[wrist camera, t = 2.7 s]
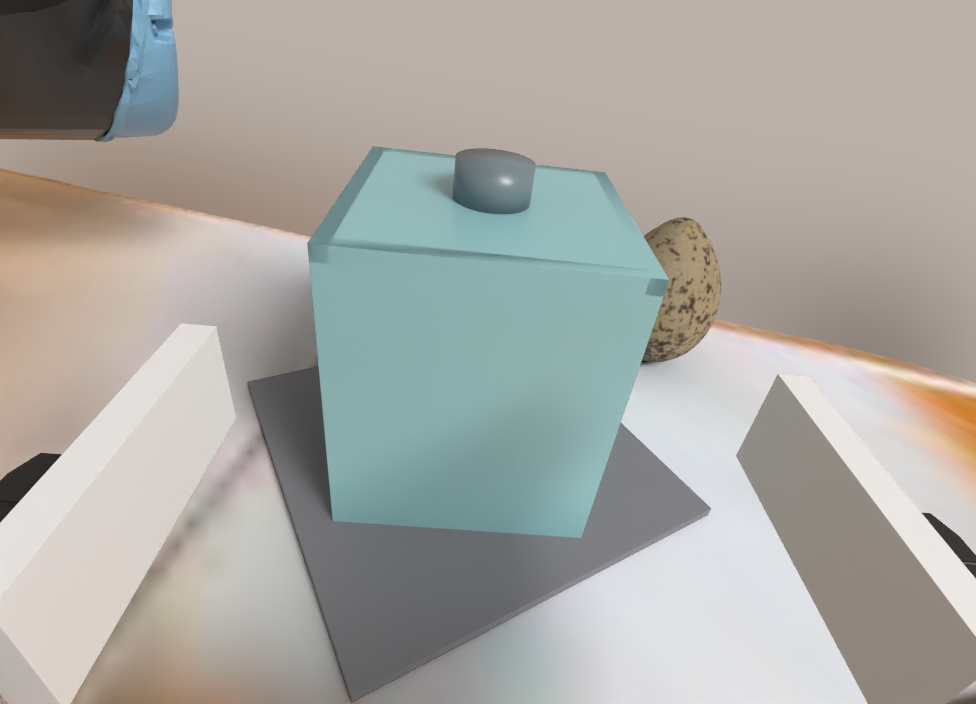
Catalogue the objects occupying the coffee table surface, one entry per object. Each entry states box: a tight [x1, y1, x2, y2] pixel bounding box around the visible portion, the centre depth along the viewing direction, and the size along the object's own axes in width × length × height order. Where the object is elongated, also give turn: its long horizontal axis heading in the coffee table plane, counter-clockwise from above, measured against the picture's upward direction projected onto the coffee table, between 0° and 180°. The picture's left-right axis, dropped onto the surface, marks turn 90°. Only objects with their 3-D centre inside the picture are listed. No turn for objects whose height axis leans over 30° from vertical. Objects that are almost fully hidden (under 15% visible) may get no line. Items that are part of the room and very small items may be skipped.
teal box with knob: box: [307, 146, 669, 538], centre depth 24 cm, size 11×11×14 cm
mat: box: [248, 366, 711, 702], centre depth 28 cm, size 18×18×1 cm
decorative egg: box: [642, 217, 721, 362], centre depth 35 cm, size 7×7×10 cm
